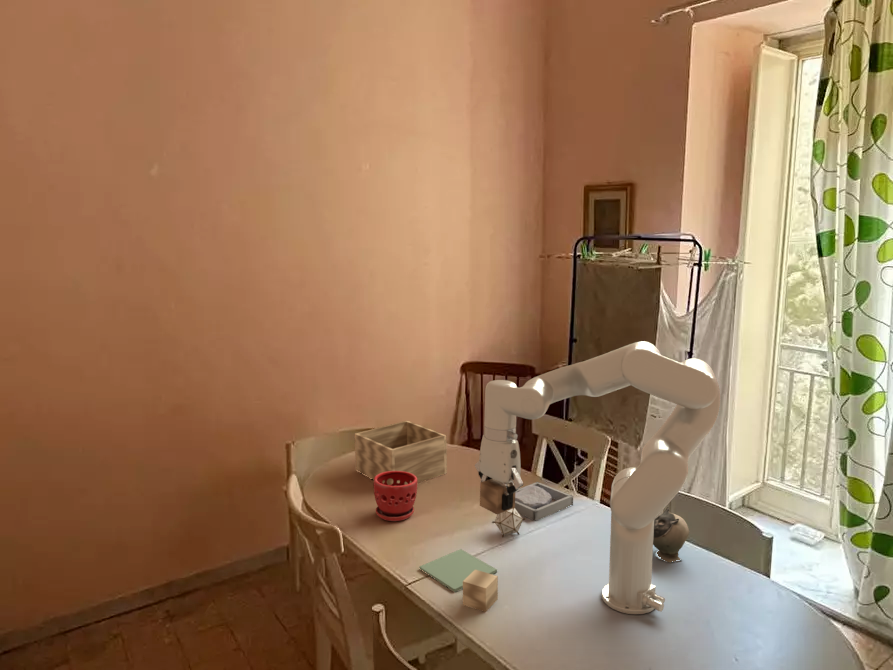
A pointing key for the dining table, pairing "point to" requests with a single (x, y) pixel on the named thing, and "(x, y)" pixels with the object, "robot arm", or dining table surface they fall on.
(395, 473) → the plant pot
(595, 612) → the dining table surface
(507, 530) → the game die
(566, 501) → the slate tray
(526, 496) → the stone block
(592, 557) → the dining table surface
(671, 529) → the brown round clay figure
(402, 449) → the wooden crate
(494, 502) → the walnut cube
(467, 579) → the oak cube
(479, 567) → the mat
